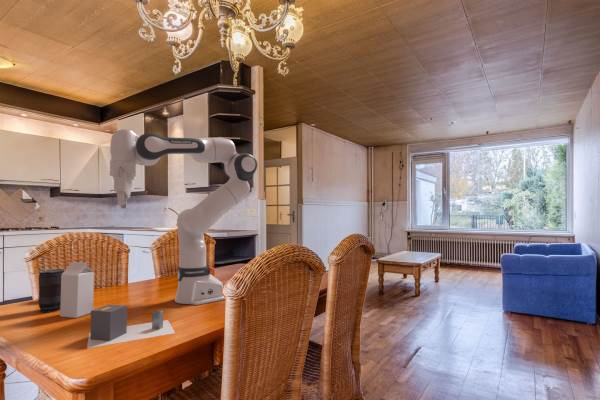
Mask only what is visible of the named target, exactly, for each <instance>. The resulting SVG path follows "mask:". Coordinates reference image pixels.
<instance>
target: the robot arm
mask: <svg viewBox="0 0 600 400" xmlns="http://www.w3.org/2000/svg"><path fill="white" fill-rule="evenodd" d="M109 145H110V149H109V153H110V160H109V176H111V177H112V179H113V190H114V192H115V193H116V195H117V196H116V197H117V205H118V206H120V208H121V209H122V210H125V209H126V208H127V203H128V199H130V198H131V194H132V186H133V181H134V179H135V177H136V173H137V172H136V171H137V170H136V169H137V166H136V165H140V166H144V167H152V166H154V165H156V164H157V163H158V162H159V161H160V159H161V158H162V157H163V156H166V155H190V156H191V158H192V159H193V160H194V161H196V162H197V163H201V164H202V163H204V164H211V163H212V164H213V163H220V165H221V168H222V170H223V173H224V175H225V176H226V177H227V178H229V179H228V181H226V182H225V183H224V184H222V185H221V186H220V187H218V188H217V189H215V190H213V191H212V192H211V193H209V194H208V195H207V196H205V197H204V199H202V200H201V201H200V202H198V204H197V205H195V206H193V207H191V208H186V209H184V210H182V211H181V212H180V213H179V214H178V216H177V218H176V224H177V225H176V226H177V237H178V238H177V239H178V245H179V248H178V249H179V262H178V264H179V266H178V268H177V280H178V284H177V290H176V294H175V299H174V302H175V303H176V304H184V305H185V304H186V305H194V306H198V305H204V304H208V303H213V302H219V301H224V300H226V299H225V297H224V296H223V294H222V289H223V287H224V285H223V282H222V281H221V280H220V279H218V278H217V277H215V276H214V275H213V274H211V273H214V271H215V268H214V267H212V266H209V265H207V245H206V242H205V236H204V235H205V233H206V232H208V231H209V230H210V229H211V227H213V226H214V225H215V224H216V223H217V222H218V221H219V220H220V219H221V218H222V217H223V216H224V215H225V214H227V213H228V212H229V211H231V210H232V209H233V208H234V207H236V206H238V204H240V203H241V202H242V201H243V200H244V199H245V198H246V197H247V196H248V195H249V194H250V192H251V186H250V184H249V181H251V180H252V179H253V177H254V174H255V173H256V171H257V168H258V162H257V159H256V157H255V156H254V155H252V154H250V153H246V152H245V153H244V152H243V153H238V152H237V150H236V145H235V143H234V142H233V141H232V140H231V139H230V138H223V137H200V138H199V137H196V138H192V137H191V138H190V137H167V136H163V135H161V134H157V133H154V132H146V133H143V134H141V135H140V136H139V135H138V134H136V132H134V130H130V129H119V130H116V131H114V132H113V134H112V135H111V138H110V144H109Z"/></svg>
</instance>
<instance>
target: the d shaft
mask: <svg viewBox="0 0 600 400" xmlns="http://www.w3.org/2000/svg"><path fill="white" fill-rule="evenodd" d="M151 314H152V315H151V317H152V318H151V320H152V321H151V322H152V329H159V330H160V329H162V328H163V321H164V310H162V309H158V310H155V311H153V312H152V313H151Z"/></svg>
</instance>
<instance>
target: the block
mask: <svg viewBox="0 0 600 400" xmlns="http://www.w3.org/2000/svg"><path fill="white" fill-rule="evenodd" d="M127 326H128V305H122V304H105V305H103V306H101V307H98V308H95V309H94V308H93V310H91V313H90V332H91V333H90V339H91V340H102V341H111V340H113V339H116V338H118V337H120V336H122V335H124V334H126V333H127Z"/></svg>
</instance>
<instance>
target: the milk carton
mask: <svg viewBox="0 0 600 400" xmlns="http://www.w3.org/2000/svg"><path fill="white" fill-rule="evenodd" d="M94 282H95V271H94V270H93V269H92V268H90V267H89V266H88V264H87V262H86V261H85V262H80V261H78V262H77V261H75V262H74V261H69V266H67V268H66V269H64V272H63V273H62V275H61V306H60V310H59V312H60V313H59V316H60V318H61V317H62V318H75V319H77V318H80V317H83V316H86V315H88V314H91V310H94V290H95V289H94V287H95V283H94Z"/></svg>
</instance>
